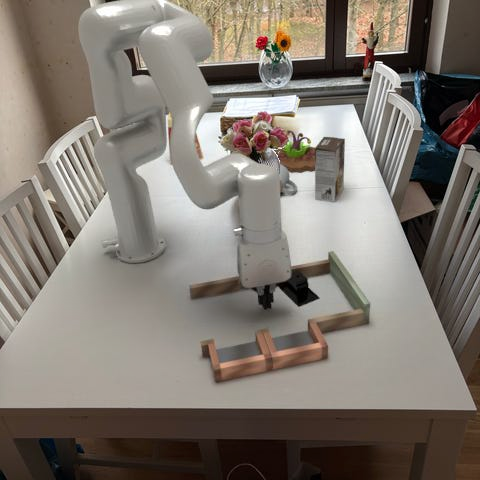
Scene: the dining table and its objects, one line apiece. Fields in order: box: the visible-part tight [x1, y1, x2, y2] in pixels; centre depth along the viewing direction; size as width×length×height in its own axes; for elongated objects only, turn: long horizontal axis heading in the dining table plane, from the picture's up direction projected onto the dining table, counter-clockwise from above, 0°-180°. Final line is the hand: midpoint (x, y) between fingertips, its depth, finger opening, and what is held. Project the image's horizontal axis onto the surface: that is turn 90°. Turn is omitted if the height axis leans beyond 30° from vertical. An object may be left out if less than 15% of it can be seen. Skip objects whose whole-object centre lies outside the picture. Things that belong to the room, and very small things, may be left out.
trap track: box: [188, 250, 371, 383], centre depth 99 cm, size 33×26×5 cm
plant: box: [273, 130, 316, 174], centre depth 167 cm, size 20×20×11 cm
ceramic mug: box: [279, 164, 298, 196], centre depth 148 cm, size 11×8×8 cm
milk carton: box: [166, 109, 204, 165], centre depth 172 cm, size 9×9×20 cm
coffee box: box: [314, 136, 346, 203], centre depth 142 cm, size 9×6×16 cm
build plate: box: [277, 270, 321, 308], centre depth 107 cm, size 12×7×5 cm, turn 27°
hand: (266, 305), depth 102 cm, fingers closed
